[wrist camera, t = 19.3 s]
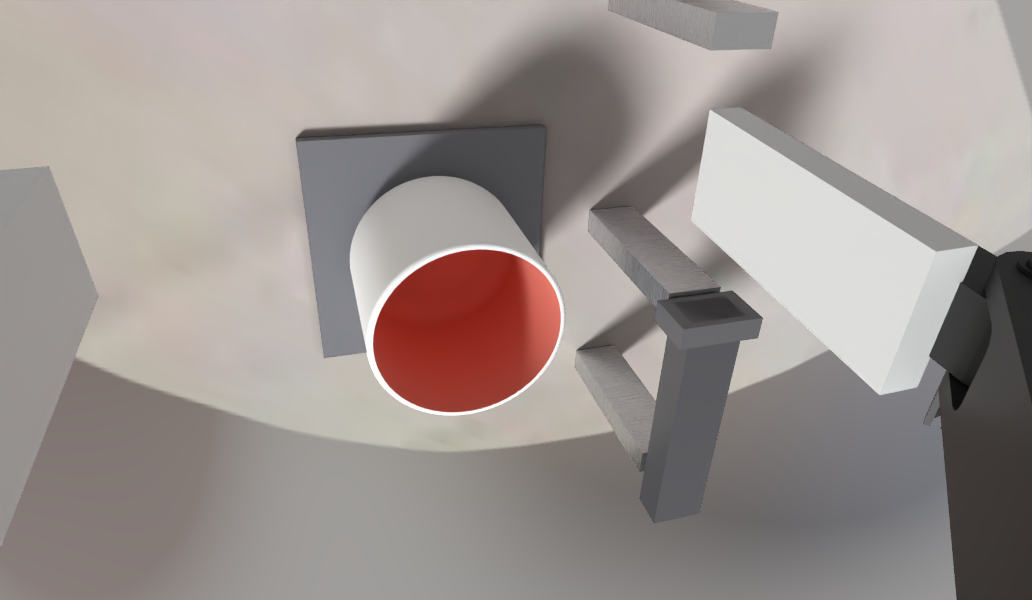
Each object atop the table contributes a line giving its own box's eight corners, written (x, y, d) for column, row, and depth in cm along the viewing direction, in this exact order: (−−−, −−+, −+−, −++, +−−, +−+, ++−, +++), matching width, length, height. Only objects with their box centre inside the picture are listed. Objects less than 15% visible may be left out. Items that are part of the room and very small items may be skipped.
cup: (538, 202, 43) (601, 278, 35) (469, 334, 46) (512, 432, 38) (386, 142, 38) (417, 214, 30) (322, 293, 42) (335, 395, 33)
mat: (295, 138, 37) (295, 141, 37) (542, 124, 41) (546, 127, 40) (323, 352, 44) (324, 358, 44) (532, 324, 48) (534, 329, 48)
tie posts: (611, -19, 38) (716, 12, 29) (661, -19, 39) (778, 12, 30) (574, 367, 51) (639, 471, 42) (612, 361, 52) (683, 462, 43)
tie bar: (657, 300, 36) (683, 329, 33) (732, 290, 37) (762, 317, 35) (626, 496, 43) (646, 531, 40) (690, 482, 44) (712, 515, 42)
